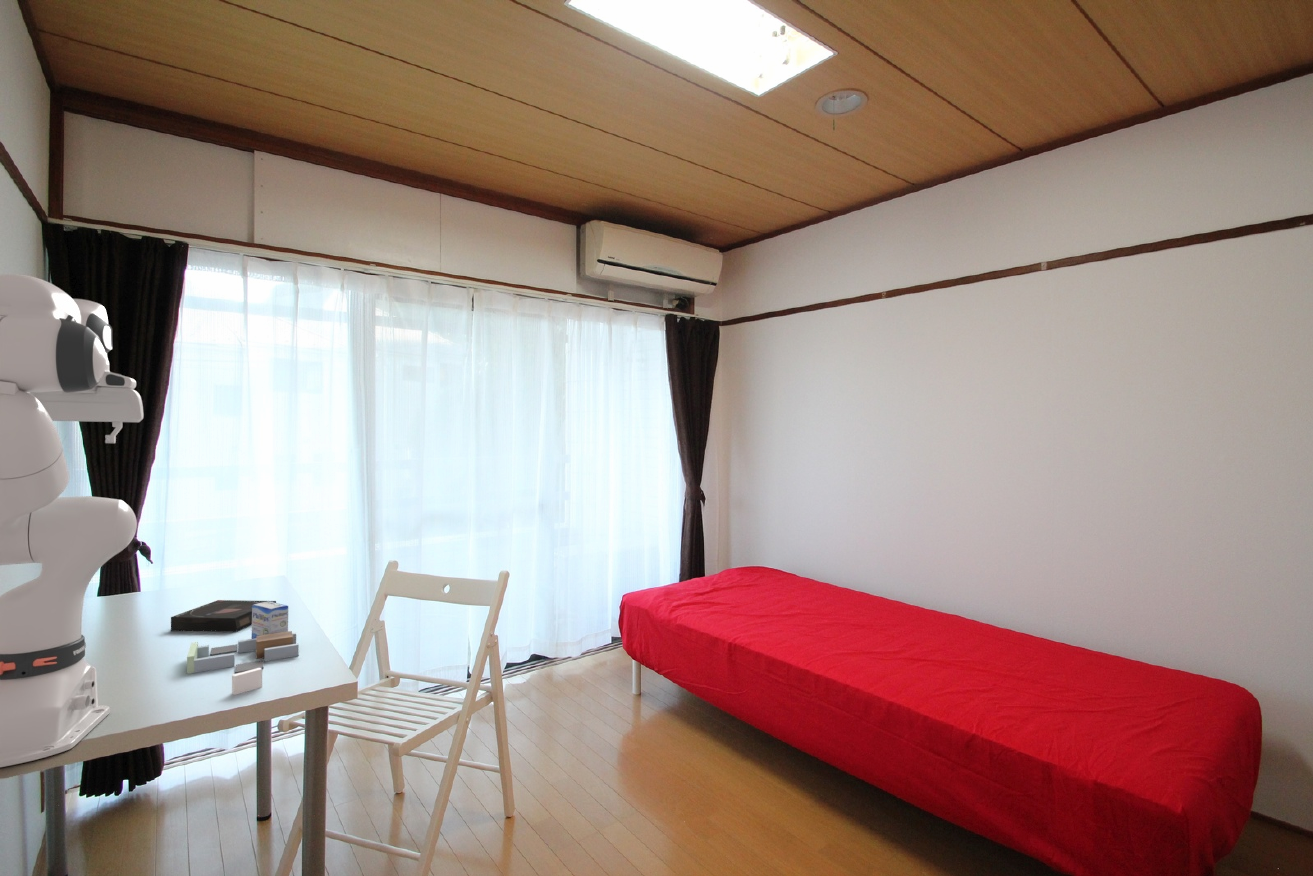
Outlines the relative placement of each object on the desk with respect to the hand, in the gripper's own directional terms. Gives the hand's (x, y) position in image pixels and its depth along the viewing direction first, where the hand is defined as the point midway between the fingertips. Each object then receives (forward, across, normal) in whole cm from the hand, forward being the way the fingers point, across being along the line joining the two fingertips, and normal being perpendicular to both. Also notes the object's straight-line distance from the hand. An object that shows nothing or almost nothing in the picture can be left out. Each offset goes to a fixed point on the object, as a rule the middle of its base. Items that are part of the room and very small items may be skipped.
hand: (81, 443), depth 131 cm
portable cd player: (+49, +25, +24) cm, 60 cm away
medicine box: (+48, +34, +1) cm, 59 cm away
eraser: (+48, +30, -31) cm, 65 cm away
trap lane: (+48, +30, -10) cm, 57 cm away
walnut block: (+48, +35, -10) cm, 60 cm away
